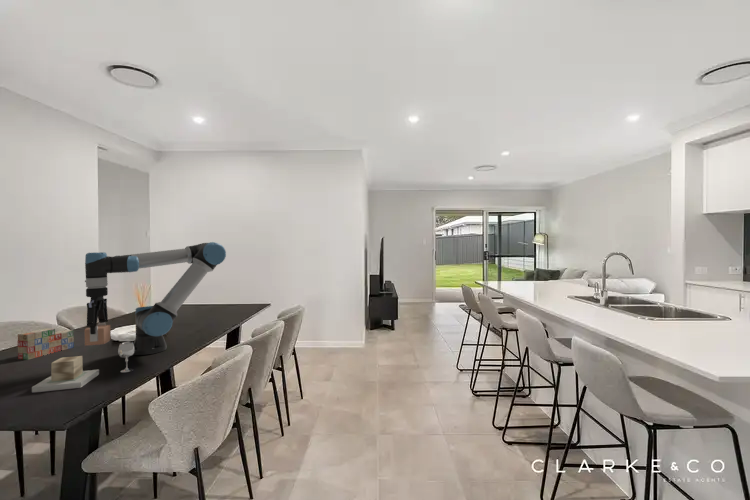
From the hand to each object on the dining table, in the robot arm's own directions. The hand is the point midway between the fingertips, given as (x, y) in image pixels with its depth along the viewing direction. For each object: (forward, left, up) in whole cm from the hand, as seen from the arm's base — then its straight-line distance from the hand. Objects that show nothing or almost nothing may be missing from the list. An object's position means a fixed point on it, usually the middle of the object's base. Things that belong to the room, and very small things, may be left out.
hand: (98, 339), depth 157 cm
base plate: (+3, +18, -13) cm, 22 cm away
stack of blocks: (+35, -35, -13) cm, 51 cm away
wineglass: (-14, +9, -13) cm, 21 cm away
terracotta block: (0, 0, -2) cm, 2 cm away
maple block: (+3, +18, -10) cm, 21 cm away
